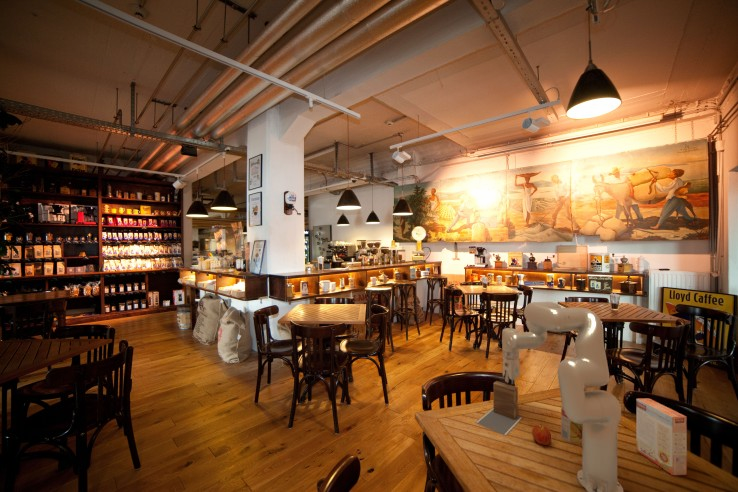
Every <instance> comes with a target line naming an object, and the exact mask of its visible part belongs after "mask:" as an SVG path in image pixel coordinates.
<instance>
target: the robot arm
mask: <svg viewBox="0 0 738 492" xmlns="http://www.w3.org/2000/svg"><path fill="white" fill-rule="evenodd" d="M523 314H524V318H525V320H526V321H525V322H526V324H525V325H526V327H527V330H529V331H524V332H523V331H522V332H520V331H519V330H518V329H516V328H512V327H505V328H503V329H502V332H501V333H502V337H501V339H502V340H501V341H502V344H501V345H502V347H501V348H502V350H501V351H502V354H501V355H502V358H503V359H502V360H503V361H502V377H503V378H504V381H505V382H504V383H505V384H508V385H512V386H515V387H516V384H515V383H516V379H517V378H518V377H519V376H520V374H521V372H520V371H521V370H520V350H527V349H528V350H532V349H533V350H534V349H536V348H539V347H541V346H542V345H543V344H544V343H545V342H546V341H547V338H548V331H550V332H560V333H561V332H575V331H576V332H578V333H577V335H576V338H575V342H574V347H575V348H574V349H575V357H572V358H571V357H569V358H565V359H563V360H561V361H560V362H559V364H558V367H557V381H558V386H559V393H560V399H561V400H560V401H561V406H563V409H564V412H565V414H566V415H567V417H568V418H569V419H570V420H571V421H572V422H574V423H577V424H583V430H582V443H581V445H582V446H581V447H582V449H581V451H582V454H581V455H582V457H581V458H582V462H581V463H582V464H581V466H582V467H581V468H582V469H579V470H578V471H577V474H576V477H577V481H578V483H579V484H580V485H581V486H582V487H583V489H585V490H586V491H587V492H624V488H623V486H622V485H621V483H620V482H619V481H618V433H619V426H620V425H619V424H620V421H621V416H622V407H621V404H620V402H619V400H618V398H617V396H615V395H613V394H612V393H611V392H608V391H606V390H603V389H602V390H601V389H589V390H585V389H588V388H596V387H603V386H605V385H608V383H609V382H610V372H609V371H610V370H609V366H608V360H607V355H606V350H605V343H604V342H605V341H604V327H603V323H602V320H601V318H600V317H599V315H598V314H597V313H595V312H594V311H593V310H591V309H589V308H585V307H578V306H577V307H571V306H570V307H562V306H561V305H560V304H558V303H556V302H553V301H534V302H529V303H528V304H527V305H526V306H525V308H524V310H523Z"/></svg>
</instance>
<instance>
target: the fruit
mask: <svg viewBox="0 0 738 492" xmlns="http://www.w3.org/2000/svg"><path fill="white" fill-rule="evenodd" d="M531 433H532V434H531V435H532V437H533V439H534V441H536V443H538V444H539V445H542V446H546V445H549V444H550V442H552V433H551V431H550V429H549V428H548V426H546V425H542V423H540V424H536V425H534V426H533V427H532V429H531Z"/></svg>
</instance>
